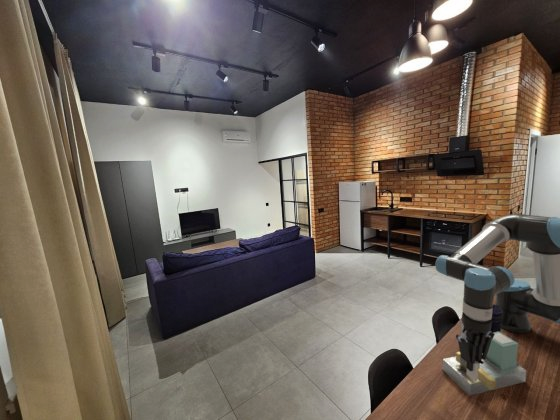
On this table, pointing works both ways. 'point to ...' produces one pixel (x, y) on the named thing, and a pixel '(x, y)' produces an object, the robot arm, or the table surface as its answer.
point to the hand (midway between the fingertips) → (471, 377)
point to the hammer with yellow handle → (482, 375)
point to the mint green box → (503, 351)
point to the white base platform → (500, 375)
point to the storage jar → (496, 319)
